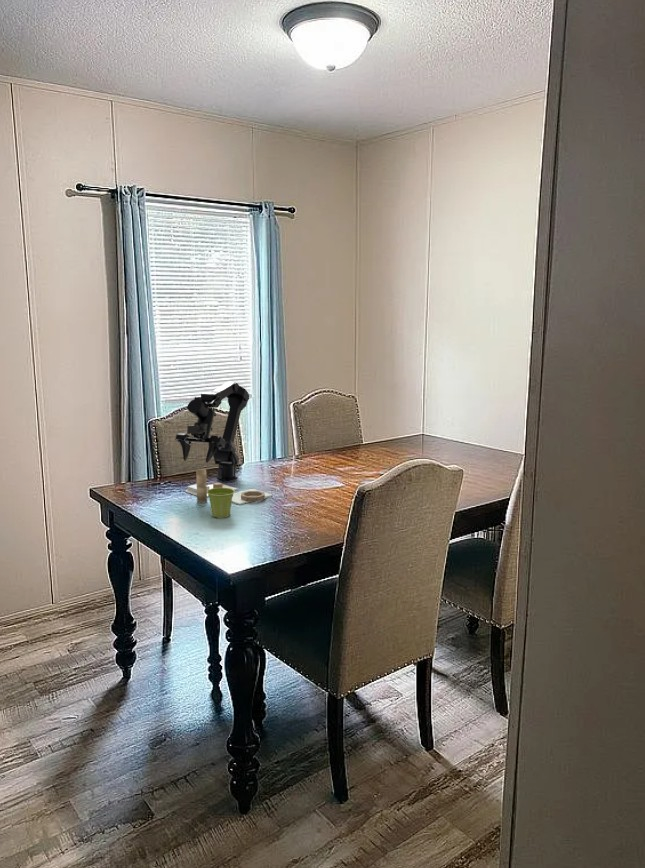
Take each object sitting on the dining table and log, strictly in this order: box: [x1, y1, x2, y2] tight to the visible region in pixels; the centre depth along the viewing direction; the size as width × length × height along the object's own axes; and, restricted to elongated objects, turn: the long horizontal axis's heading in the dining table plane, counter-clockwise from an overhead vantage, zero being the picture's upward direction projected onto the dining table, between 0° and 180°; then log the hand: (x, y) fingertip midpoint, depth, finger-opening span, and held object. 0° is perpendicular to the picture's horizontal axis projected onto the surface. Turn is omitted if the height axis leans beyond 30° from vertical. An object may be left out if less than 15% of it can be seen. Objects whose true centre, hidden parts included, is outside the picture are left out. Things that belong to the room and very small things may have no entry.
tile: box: [185, 482, 239, 498], centre depth 260 cm, size 16×12×4 cm
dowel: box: [195, 468, 208, 504], centre depth 245 cm, size 4×4×12 cm
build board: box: [231, 488, 273, 506], centre depth 251 cm, size 16×14×2 cm
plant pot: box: [207, 488, 236, 519], centre depth 230 cm, size 9×9×9 cm
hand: (195, 461), depth 253 cm, fingers open, 9 cm apart
